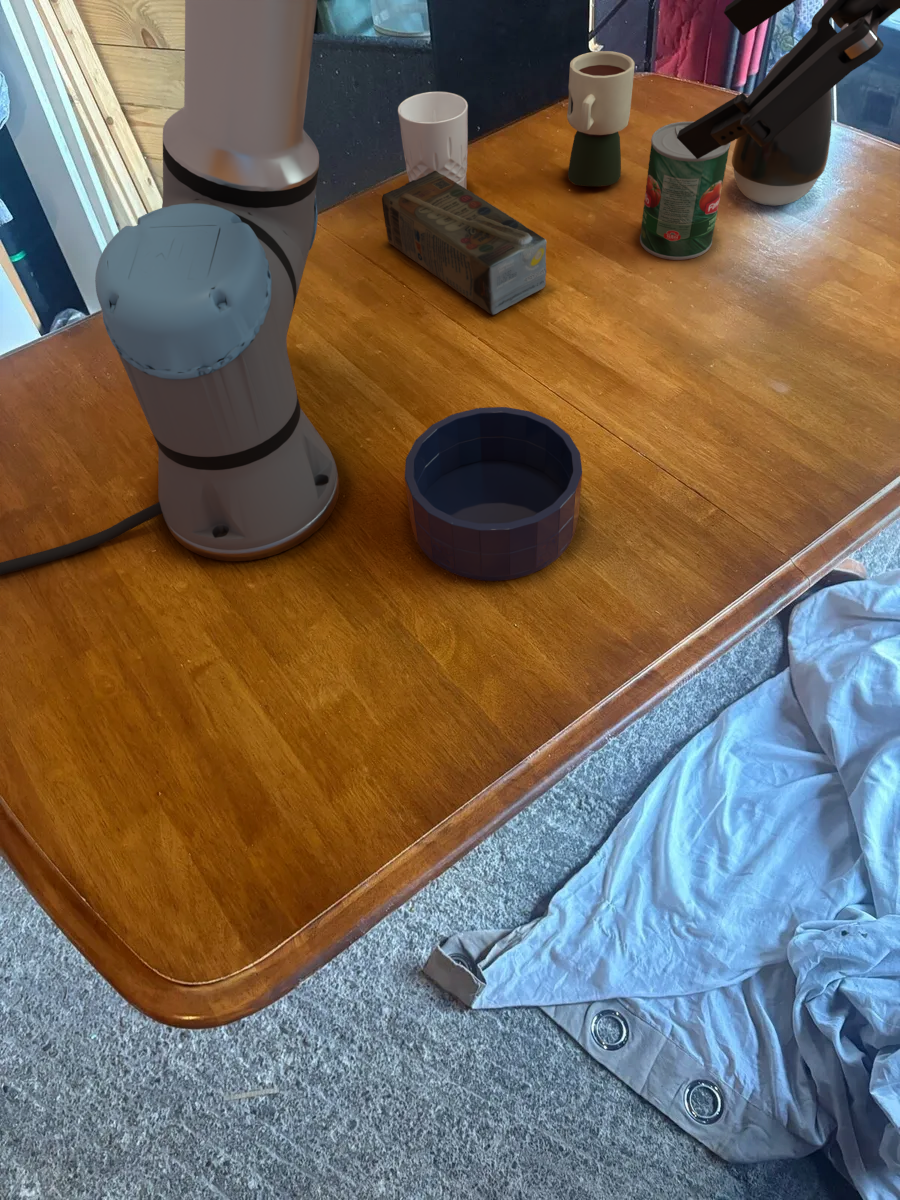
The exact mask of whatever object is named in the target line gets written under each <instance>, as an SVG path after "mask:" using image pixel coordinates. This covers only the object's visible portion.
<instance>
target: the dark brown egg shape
mask: <svg viewBox="0 0 900 1200" xmlns="http://www.w3.org/2000/svg"><path fill="white" fill-rule="evenodd" d="M789 52H790V51H788V52H786V53H785V54H784V55H782V56H781V57H780V58H779V59H778V60H777V61H776V62H775V63H774V65H772V67H771V68H770V69H769V71H768V73H767V74H766V75H765V77H764V79H765V78H766V77H767V76H768V74H769V73H770V72H771V71H772V70H773V69H774V68H775V67H776V66H777V65H778V64H779V62H780V61H781V60H782V59H783V58H784V57H785V56H786V55H787V54H788V53H789ZM832 107H833V106H832V88H831V89H830V90H829V91H828V92H827V93H826V94H824V95H823V96H822V97H821V98H820V99H819V100H817V101H816V102H815V103H814V104H813V105H812V106H810V107H809V108H808V109H807V110H806V111H805V112H803V113H802V114H801V115H800V116H799V117H798V118H796V119H795V120H794V121H793V122H792V123H791V124H789V125H788V126H787V127H786V128H785V129H784V130H782V131H781V132H780V133H779V134H778V135H777V136H775V137H774V138H773V139H772V140H771V141H770V142H768V143H767V144H766V145H764V146H760V145H759V144H758V143H757V142H756V141H755V140H754V139H753V138H752V137H751V136H750V135H749V133H747V134H745V135H743V136H741V137H739V138H738V139H736V140H735V143H734V148H733V151H732V156H731V166H732V168H733V176H734V180H735V183H736V185H737V188H738V189H739V191H740V192H741V193H742V195H743V196H745V198H747V199H749V200H750V201H752V202H754V203H757V204H760V205H764V206H773V207H774V206H784V205H789V204H791V203H794V202H796V201H798V200H800V199H801V198H803V197H805V195H807V194H808V193H809V192H810V190H811V189H812V188H813V187H814V186H815V184H816V183H817V181H818V180H819V177H820V176H821V175H823V173H824V172H825V169H826V166H827V163H828V158H829V153H830V152H829V151H830V145H831V135H832V119H833V118H832V117H833V115H832V111H833V110H832V109H833V108H832Z"/></svg>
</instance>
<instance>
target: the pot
mask: <svg viewBox="0 0 900 1200" xmlns="http://www.w3.org/2000/svg"><path fill="white" fill-rule="evenodd" d="M582 478H583V466H582V458H581V452H580V450H579V448H578V447H577V445H576V443H575V442H574V440H573V438H572V436H571V435H570V434H569V433H567V432H566V431H565V430H564V429H563V428H561V427H560V426H559V425H558V424H556V422H554V421H553V420H552V419H549V418H547V417H544V416H542V415H539V414H537V413H535V412H533V411H530V410H525V409H520V408H514V407H513V408H512V407H508V406H494V407H491V406H490V407H476V408H472V409H469V410H464V411H460V412H456V413H452V414H451V415H450V414H449V416H447V417H445V418H443V419H441V420H439V421H437V422H435V423H433V424H431V425H430V426H429V427H428V428H427V429H425V430H424V432H422V433H421V435H419V436H418V437H417V438H416V439H415V440H414V442H413V444H412V446H411V448H410V450H409V452H408V454H407V456H406V457H405V465H404V483H405V491H406V496H407V497H406V498H407V499H406V500H407V505H408V506H407V507H408V513H409V519H410V526H411V528H412V534H413V536H414V540H415V542H416V543H417V545H418V546H419V548H420V550H421V551H422V552H423V554H424V555H425V556H426V557H427V558H429V560H430V561H432V562H433V563H434V564H435V565H437V566H438V567H440V568H442V569H443V570H445V571H447V572H449V573H451V574H454V575H456V576H459V577H463V578H466V579H470V580H476V581H486V582H487V581H489V582H499V581H509V580H515V579H519V578H522V577H527V576H529V575H532V574H535V573H537V572H539V571H541V570H542V569H545V568H547V567H548V566H550V565H551V564H552V563H554V562H555V561H556V560H557V559H559V558H560V557H561V556H562V555H563V554H564V553H565V551H566V550H567V549H568V548H569V546H570V544H571V543H572V541H573V540H574V539H573V538H574V536H575V533H576V532H577V531H576V530H577V526H578V522H579V515H580V504H581V503H580V502H581V492H582V491H581V490H582Z"/></svg>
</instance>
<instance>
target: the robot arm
mask: <svg viewBox="0 0 900 1200" xmlns="http://www.w3.org/2000/svg"><path fill="white" fill-rule="evenodd" d="M796 1H797V0H732V1H731V2H730V3H729V4H727V5H726V6H725V9H724V11H723V14H724V15H725V17H726V18H727V19H728V20H729V21H730V22H731V23H732V24H733V26H734V27H735V28H736V29H737V30H738V32H739V33H740V34H741V35H742V36H744V35H746V34H748V33H749V32H751V31H753V30H754V29H755V28H756V27H758V26H760V25H761V24H763V23H764V22H765V21H767V20H769V19H770V18H772V17H774V16H775V15H777V14H778V13H779V12H781V11H782V10H784V9H785V8H787V7H789V6H790V5H791V4H793V3H794V2H796ZM317 7H318V0H184V87H183V88H184V95H183V96H184V97H183V98H184V102H183V105H184V106H182V107H181V108H180V109H178V110H177V111H176V112H174V113H173V114H171V115H170V116H169V117H168V118H167V119H166V121H165V122H164V125H163V127H162V204H161V208H157V209H154V210H152V211H150V212H147V213H145V214H143V215H141V216H139V217H138V218H137V224H136V225H125V226H124V227H122V228H121V229H120V230H119V231H118V232H117V233H116V234H114V236H113V237H112V238H111V240H110V241H108V243H107V245H106V246H105V248H104V249H103V251H102V253H101V255H100V257H99V260H98V263H97V267H96V269H95V277H94V279H95V280H94V283H95V292H96V297H97V301H98V304H99V306H100V309H101V311H102V321H103V325H104V327H105V330H106V333H107V336H108V338H109V339H110V342H111V344H112V346H113V347H114V348H115V350H116V352H117V354H118V356H119V359H120V361H121V363H122V366H123V368H124V371H125V372H126V375H127V378H128V379H129V382H130V384H131V387H132V389H133V391H134V394H135V396H136V398H137V400H138V403H139V406H140V408H141V410H142V412H143V415H144V417H145V420H146V422H147V424H148V426H149V429H150V430H151V433H152V435H153V438H154V440H155V443H156V445H157V448H158V451H157V452H158V453H157V454H158V465H157V467H158V469H157V470H158V471H157V472H158V473H157V475H158V476H157V478H158V481H157V483H158V484H157V485H158V486H157V489H158V491H157V492H158V493H157V495H158V502H156V503H153V504H151V505H150V506H147V507H145V508H143V509H142V510H140V511H137V512H136V513H134V514H132V515H130V516H127V517H126V518H124V519H122V520H120V521H119V522H117V523H115V524H114V525H112V526H110V527H107V528H106V529H104V530H101V531H99V532H96V533H94V534H91V535H89V536H86V537H83V538H80V539H77V540H74V541H71V542H69V543H65V544H63V545H59V546H56V547H53V548H49V549H46V550H41V551H39V552H34V553H31V554H27V555H24V556H23V555H22V556H19V557H16V558H12V559H8V560H4V561H0V576H1V575H5V574H9V573H13V572H16V571H21V570H24V569H28V568H32V567H35V566H39V565H43V564H46V563H49V562H53V561H57V560H61V559H63V558H66V557H70V556H73V555H75V554H78V553H82V552H84V551H87V550H91V549H93V548H95V547H98V546H100V545H103V544H105V543H107V542H110V541H112V540H114V539H116V538H118V537H120V536H122V535H124V534H126V533H127V532H128V531H130V530H132V529H135V528H136V527H138V526H140V525H142V524H144V523H146V522H148V521H150V520H152V519H155V518H156V517H158V516H159V515H162V517H163V519H164V522H165V524H166V527H167V528H168V530H169V532H170V534H171V535H172V536H173V538H174V539H175V540H176V541H177V542H178V543H179V544H180V545H181V546H183V547H184V548H185V549H187V550H188V551H190V552H192V553H194V554H197V555H199V556H201V557H204V558H208V559H212V560H217V561H223V562H246V561H247V562H248V561H255V560H260V559H261V560H262V559H264V558H268V557H272V556H276V555H279V554H280V553H283V552H286V551H288V550H290V549H292V548H294V547H296V546H298V545H300V544H301V543H303V542H304V541H306V540H307V539H309V538H310V537H311V536H312V535H314V534H316V532H317V531H318V530H320V528H321V527H322V526H323V525H324V524H325V523H326V521H327V520H328V519H329V518H330V516H331V515H332V513H333V511H334V509H335V508H336V505H337V502H338V500H339V495H340V477H339V472H338V468H337V464H336V460H335V458H334V456H333V454H332V452H331V450H330V448H329V446H328V445H327V443H326V441H325V440H324V438H323V437H322V436H321V434H320V433H319V432H318V430H317V428H316V427H315V426H314V424H313V423H312V422H311V420H310V419H309V418H308V416H307V415H306V413H305V412H304V411H303V409H302V408H301V404H300V401H299V396H298V392H297V387H296V384H295V379H294V374H293V371H292V367H291V362H290V359H289V354H288V345H287V343H288V342H287V339H288V332H289V328H290V324H291V320H292V316H293V312H294V308H295V305H296V301H297V297H298V293H299V289H300V286H301V282H302V278H303V274H304V270H305V267H306V263H307V259H308V257H309V252H310V251H311V250H312V248H313V245H314V242H315V238H316V234H317V228H318V220H319V219H318V218H319V217H318V215H319V214H318V213H319V212H318V208H317V207H318V199H317V195H316V193H317V185H318V176H319V169H320V154H319V153H320V152H319V149H318V147H317V145H316V143H315V142H314V141H313V139H312V138H311V137H310V135H308V133H307V132H306V130H305V129H304V123H305V116H306V106H307V96H308V88H309V79H310V71H311V70H310V69H311V63H312V53H313V43H314V34H315V25H316V15H317ZM898 10H900V0H827V1H826V2H825V3H824V4H823V5H822V6H821V8H819V10H818V11H817V12H816V13H814V15H813V17H812V18H811V26H810V29H808V31H806V33H805V34H804V35H803V36H802V37H801V38H800V39H799V41H798V42H797V43H796V44H795V45H794V46H793V47H792V48H791V50H789V51H788V52H789V53H788V52H787V53H788V54H787V53H786V54H787V55H786V56H785V57H784V58H783V59H782V60H781V61H780V62H779V64H778V65H777V66H776V67H775V68H774V69H773V70H772V71H771V72H770V73H769V72H768V73H769V74H768V73H767V74H768V76H767V75H766V76H767V77H766V76H765V77H766V78H765V77H764V78H763V79H762V80H761V82H760V83H759V84H758V85H757V86H756V87H755V88H754V89H753V91H751V93H750V94H749V95H748V96H746V94H745V93H744V92H741V93H740V94H737V95H736V96H735V97H733V98H732V99H730V100H728V101H727V102H725V103H723V104H722V105H720V106H718V107H716V108H715V109H713V110H712V111H709V112H708V113H706V114H704V115H703V116H702V117H699V118H698V119H696V120H695V121H693V123H691V124H690V125H688V126H686V127H685V128H683V129H681V130H680V131H679V133H678V136H677V139H678V140H679V141H680V142H681V143H682V144H683V145H684V146H685V147H686V148H687V149H688V150H689V151H690V152H691V153H692V154H693V155H694V156H695V157H696V158H697V159H699V158H701V157H702V156H704V155H706V154H708V153H710V152H712V151H713V150H715V149H717V148H719V147H721V146H724V145H727V144H728V143H730V142H731V143H732V142H734V141H736V140H737V139H738V138H739V137H741V136H743V135H745V134H747V133H749V135H750V136H751V137H752V138H753V139H754V140H755V141H756V142H757V143H758V144H759V145H760V146H764V145H766V144H767V143H768V142H770V141H771V140H772V139H773V138H774V137H775V136H777V135H778V134H779V133H780V132H781V131H782V130H784V129H785V128H786V127H787V126H788V125H789V124H791V123H792V122H793V121H794V120H795V119H796V118H798V117H799V116H800V115H801V114H802V113H803V112H805V111H806V110H807V109H808V108H809V107H810V106H812V105H813V104H814V103H815V102H816V101H817V100H819V99H820V98H821V97H822V96H823V95H824V94H826V93H827V92H828V91H829V90H830V89H831V90H832V89H833V88H834V87H836V85H837V84H838V83H840V82H841V81H842V80H843V79H845V78H846V77H847V76H848V75H849V74H850V73H852V72H853V71H854V70H856V69H857V68H859V67H861V66H862V65H864V64H866V63H868V62H869V61H870V60H872V59H873V58H875V57H876V56H878V55H879V54H880V53H881V52H882V50H883V48H884V46H885V45H884V42H883V41H882V40H881V38H880V36H878V29H879V26H880V25H881V24H882V23H884V22H885V21H886V20H888V18H889V17H890V16H892V15H893V14H894V13H896V12H897V11H898ZM831 19H832V20H833V22H834V23H835V25H836V26H837V27H838V28H839V29H840V31H838V32H837V31H836V29H835V28H834V26H833V25H832V24H831V22H830V21H831Z"/></svg>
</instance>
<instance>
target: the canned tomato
mask: <svg viewBox="0 0 900 1200" xmlns="http://www.w3.org/2000/svg"><path fill="white" fill-rule="evenodd" d="M693 122H694V121H677V122H672V123H669V124H665V125H663V126H661V127H659V128H658V129H656V130H655V131H654V132H653V134H652V135H651V138H650V142H651V144H650V150H649V153H650V154H649V159H648V168H647V177H646V184H645V192H644V195H645V196H644V201H643V202H644V204H643V209H642V210H643V211H642V218H641V228H640V234H639V243H640V246H641V247H642V248H643V249H644V250H645V251H646V252H647V253H649V254H650V255H652V256H655V257H657V258H660V259H665V260H670V261H684V260H691V259H695V258H698V257H700V256H703V255H704V254H705V253H707V252H708V251H709V250H710V249H711V247H712V245H713V237H714V232H715V228H716V222H717V216H718V213H719V212H718V210H719V207H720V201H721V194H722V189H723V185H724V179H725V172H726V169H727V163H728V158H729V157H728V156H729V151H730V147H731V144H732V142H730V143H728V144H727V145H724V146H721V147H719V148H717V149H715V150H713V151H712V152H710V153H708V154H706V155H704V156H702V157H701V158H699V159H697V158H696V157H695V156H694V155H693V154H692V153H691V152H690V151H689V150H688V149H687V148H686V147H685V146H684V145H683V144H682V143H681V142H680V141H679V140H678V139H677V136H678V133H679V131H680V130H681V129H683V128H685V127H686V126H688V125H690V124H691V123H693Z"/></svg>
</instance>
